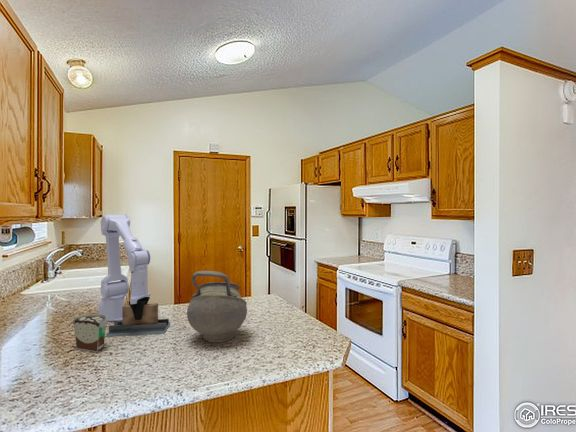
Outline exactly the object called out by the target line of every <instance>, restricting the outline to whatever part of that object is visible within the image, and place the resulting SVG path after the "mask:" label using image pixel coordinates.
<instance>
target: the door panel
mask: <svg viewBox="0 0 576 432" xmlns="http://www.w3.org/2000/svg"><path fill="white" fill-rule="evenodd" d="M158 319H159V303H156V302H155V303H147V304H145V305H144V308H143V314H142V319H141V320H135V318H134V314H133V311H132V308H131V307H130V305H129V304H125V305H124V306H123V307H122V320H121V321H123V325H131V324H151V323H158Z"/></svg>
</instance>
